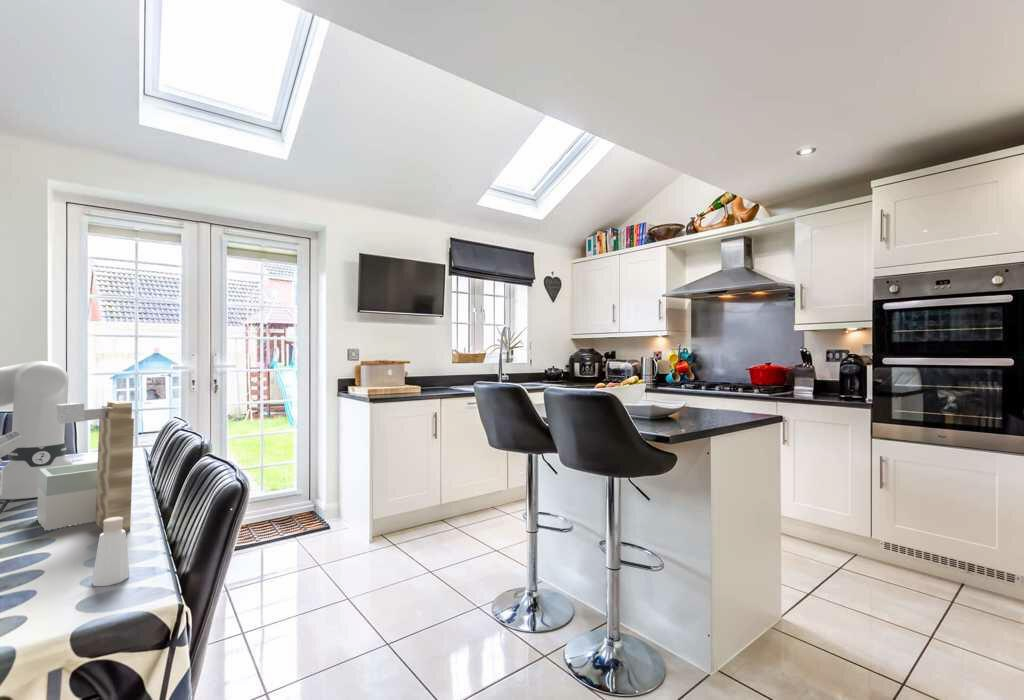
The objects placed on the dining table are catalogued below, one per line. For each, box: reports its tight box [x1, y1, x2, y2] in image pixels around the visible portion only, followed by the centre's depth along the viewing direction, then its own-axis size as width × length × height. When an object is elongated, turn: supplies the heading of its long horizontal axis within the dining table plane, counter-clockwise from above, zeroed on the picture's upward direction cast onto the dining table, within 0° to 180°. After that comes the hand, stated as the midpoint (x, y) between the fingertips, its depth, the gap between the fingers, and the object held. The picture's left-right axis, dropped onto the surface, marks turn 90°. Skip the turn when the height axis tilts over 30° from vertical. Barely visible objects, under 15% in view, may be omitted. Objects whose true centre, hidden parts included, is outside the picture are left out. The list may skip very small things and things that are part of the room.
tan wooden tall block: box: [95, 400, 135, 532], centre depth 112 cm, size 12×4×30 cm, turn 52°
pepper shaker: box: [91, 517, 130, 587], centre depth 85 cm, size 5×5×11 cm
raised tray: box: [36, 461, 98, 532], centre depth 118 cm, size 12×16×12 cm
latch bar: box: [57, 402, 108, 424], centre depth 109 cm, size 4×11×4 cm, turn 142°
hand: (21, 435), depth 99 cm, fingers open, 8 cm apart
